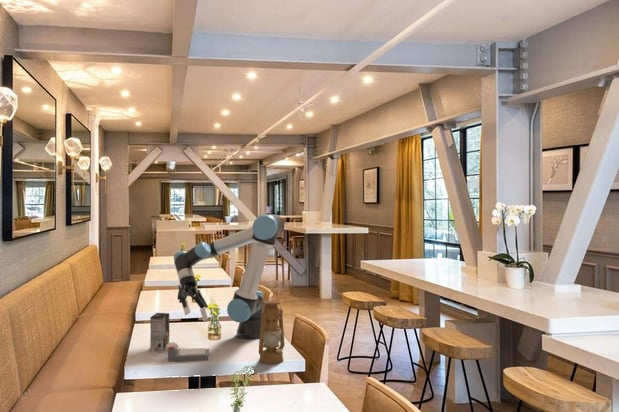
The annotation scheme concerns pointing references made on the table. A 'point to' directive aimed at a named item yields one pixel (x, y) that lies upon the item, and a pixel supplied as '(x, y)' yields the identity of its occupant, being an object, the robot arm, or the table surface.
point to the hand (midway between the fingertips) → (197, 316)
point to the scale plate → (192, 352)
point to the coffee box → (159, 332)
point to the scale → (174, 356)
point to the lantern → (271, 333)
